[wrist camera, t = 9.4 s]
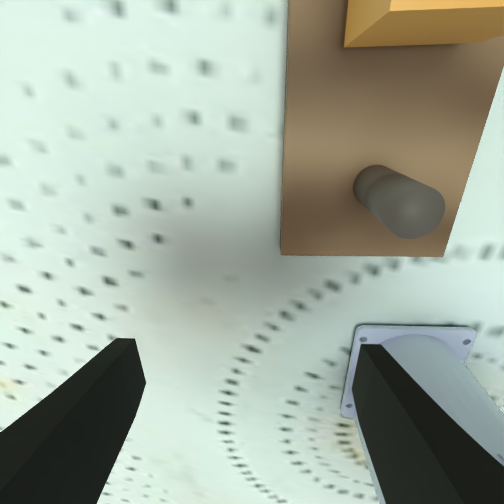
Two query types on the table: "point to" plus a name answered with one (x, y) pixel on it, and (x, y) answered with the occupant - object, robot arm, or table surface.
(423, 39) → the wooden toy cube
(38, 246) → the table surface
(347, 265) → the table surface
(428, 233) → the wooden peg board
